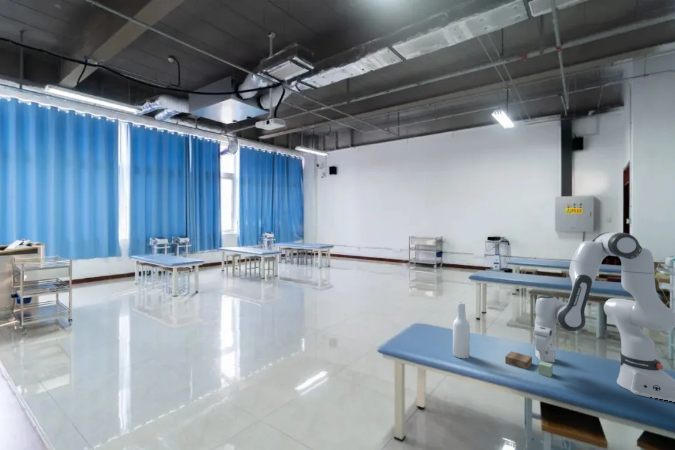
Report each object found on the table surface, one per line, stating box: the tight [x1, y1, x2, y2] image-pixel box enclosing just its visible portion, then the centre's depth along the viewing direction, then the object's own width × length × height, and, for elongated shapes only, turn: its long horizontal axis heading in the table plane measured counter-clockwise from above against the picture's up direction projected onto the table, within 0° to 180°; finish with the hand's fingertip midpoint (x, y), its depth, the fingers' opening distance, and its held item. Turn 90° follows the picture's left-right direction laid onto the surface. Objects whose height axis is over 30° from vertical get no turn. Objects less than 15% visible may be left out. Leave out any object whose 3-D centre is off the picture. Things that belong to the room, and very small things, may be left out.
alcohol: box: [452, 301, 471, 360], centre depth 179 cm, size 9×9×30 cm
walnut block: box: [504, 350, 533, 370], centre depth 169 cm, size 10×10×4 cm
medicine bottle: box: [534, 343, 556, 363], centre depth 175 cm, size 7×7×12 cm
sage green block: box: [538, 361, 554, 378], centre depth 157 cm, size 5×5×5 cm
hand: (544, 356), depth 157 cm, fingers open, 8 cm apart
